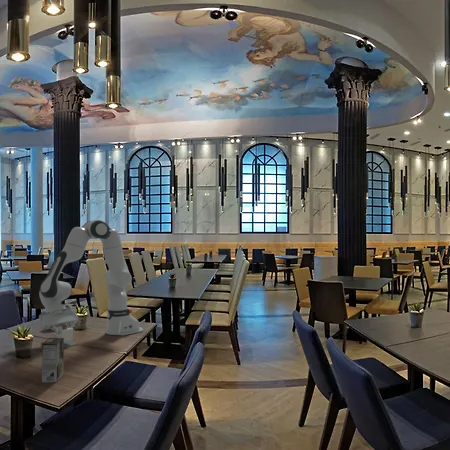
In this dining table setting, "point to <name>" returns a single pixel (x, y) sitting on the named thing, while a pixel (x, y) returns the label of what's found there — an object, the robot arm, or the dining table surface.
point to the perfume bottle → (65, 333)
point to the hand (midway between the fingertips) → (65, 331)
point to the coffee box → (52, 359)
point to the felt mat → (68, 344)
